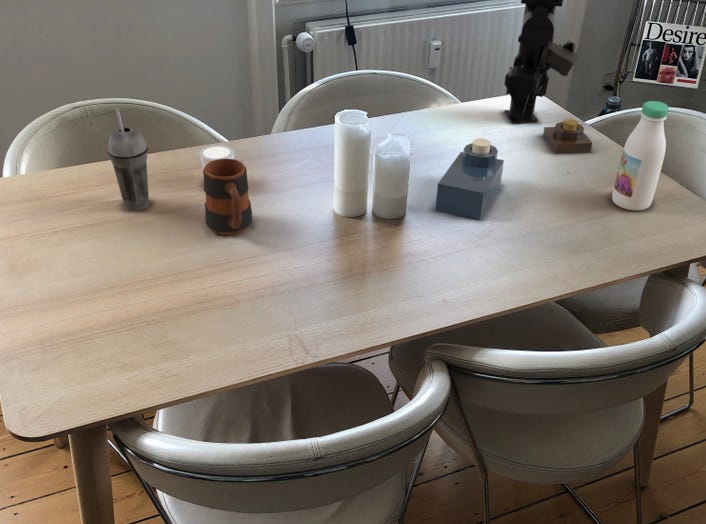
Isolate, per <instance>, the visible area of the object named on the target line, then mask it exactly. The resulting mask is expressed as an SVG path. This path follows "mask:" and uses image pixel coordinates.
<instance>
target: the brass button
mask: <svg viewBox="0 0 706 524" xmlns="http://www.w3.org/2000/svg"><path fill="white" fill-rule="evenodd" d="M562 122H563V125H562V129H564V130H568V131H575V130H577V125H578V124H579V121H578V120H577V119H574V118H564V119H563V120H562Z"/></svg>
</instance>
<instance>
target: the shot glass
mask: <svg viewBox="0 0 706 524" xmlns="http://www.w3.org/2000/svg"><path fill="white" fill-rule="evenodd" d="M198 154H199V159H200V165H201V169H202V170H203V169H204V167H205V166H206V164H208V163H209V162H211V161H213V160H217V159H235V150H234V148H232V147H231V146H227V145H223V144H215V145H209V146H205V147H204V148H201V149H200V151H199V152H198Z"/></svg>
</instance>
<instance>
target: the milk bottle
mask: <svg viewBox="0 0 706 524" xmlns="http://www.w3.org/2000/svg"><path fill="white" fill-rule="evenodd" d="M669 111H670V110H669V105H667V104H666V103H664V102H662V101H658V100H657V101H656V100H648V101H646V102H644V103H643V105H642V107H641V112H640V116H641V117H640V120H639V122H638V123H637V125H636V126H635V128H634V129H633V130H632V131H631V133H630V134H629V135H628V137H627V139H626V141H625V144H624V147H623V151H622V154H621V157H620V162H619V165H618V169H617V174H616V178H615V181H614V186H613V190H612V194H611V199H612V202H613V203H614V204H615V205H616V206H618V207H620V208H621V209H624V210H629V211H644V210H646V209H648V208H650V206H651V205H652V203H653V199H654V197H655V194H656V189H657V186H658V182H659V178H660V175H661V171H662V168H663V164H664V159H665V155H666V149H667V140H666V134H665V127H664V126H665V125H664V124H665V120H667V116H668V114H669Z"/></svg>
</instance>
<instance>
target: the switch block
mask: <svg viewBox="0 0 706 524" xmlns="http://www.w3.org/2000/svg"><path fill="white" fill-rule="evenodd" d="M562 125H563V121H560V122H556V123H555V125H554V126H544V127H543V133H542V137H543V138H544V140H545V141H546V143H547V144H548V146H549V147H550V148H551V149H552V151H553V152H554V154H556V155H557V154H578V153H579V154H580V153H591V152H592V148H593V142H592V140H591V139H590V138H589V137H588V136H587V134H586V133H585V132H584V131H585V128H584V126H583V125H582V124H580V123H578V125H577V130H575V131H568V130H564V129H562Z"/></svg>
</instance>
